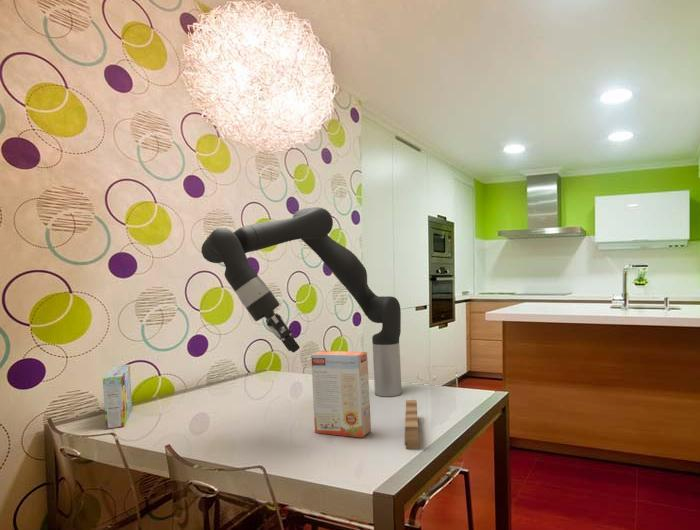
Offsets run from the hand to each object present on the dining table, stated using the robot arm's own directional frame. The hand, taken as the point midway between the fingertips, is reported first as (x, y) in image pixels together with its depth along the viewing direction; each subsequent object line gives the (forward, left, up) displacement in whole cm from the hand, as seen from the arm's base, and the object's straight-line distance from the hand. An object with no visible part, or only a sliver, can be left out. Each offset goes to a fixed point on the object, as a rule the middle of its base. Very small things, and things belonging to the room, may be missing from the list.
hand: (294, 349), depth 121 cm
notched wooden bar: (-5, +29, -23) cm, 37 cm away
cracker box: (-5, +11, -23) cm, 26 cm away
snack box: (-19, -61, -23) cm, 68 cm away
